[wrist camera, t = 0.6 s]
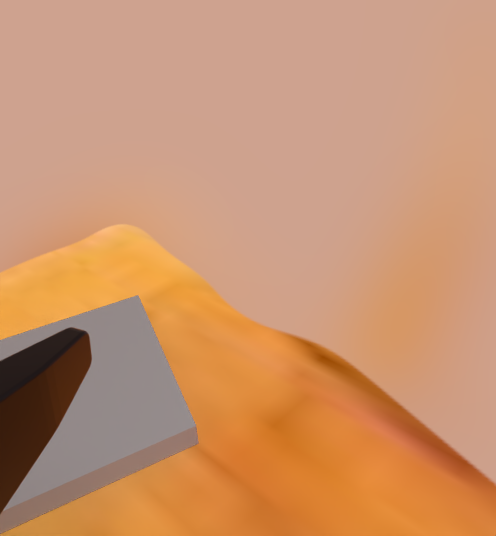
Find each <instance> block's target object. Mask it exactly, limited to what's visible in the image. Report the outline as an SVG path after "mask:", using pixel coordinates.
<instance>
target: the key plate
mask: <svg viewBox="0 0 496 536" xmlns="http://www.w3.org/2000/svg"><path fill="white" fill-rule="evenodd" d="M69 327H73V328H77V329H81V330H84V331H87V332H88V334H89V337H90V345H91V353H92V362H91V365H90V368H89V370H88V372H87V374H86V376H85V378H84V380H83V382H82V383H81V385H80V387H79V389H78V391H77V393H76V395H75V397H74V399H73V401H72V403H71V404H70V406H69V408H68V410H67V412H66V414H65V416H64V418H63V420H62V421H61V423H60V425H59V427H58V429H57V430H56V432H55V433H54V435H53V436H52V438H51V440H50V441H49V443H48V444H47V446H46V447H45V449H44V450H43V452H42V453H41V455H40V456H39V458H38V459H37V461H36V462H35V464H34V465H33V467H32V468H31V470H30V471H29V473H28V474H27V476H26V477H25V479H24V480H23V481H22V483H21V484H20V486H19V487H18V489H17V490H16V492H15V493H14V495H13V496H12V498H11V499H10V501H9V502H8V504H7V505H6V507H5V508H4V510H3V511H2V513H1V514H0V534H1V533H3V532H5V531H7V530H10V529H12V528H14V527H16V526H18V525H21V524H23V523H25V522H27V521H29V520H32V519H34V518H36V517H38V516H40V515H43V514H45V513H47V512H49V511H51V510H53V509H56V508H58V507H60V506H62V505H64V504H67V503H69V502H71V501H73V500H75V499H78V498H80V497H82V496H84V495H86V494H89V493H91V492H93V491H95V490H97V489H99V488H102V487H104V486H106V485H108V484H110V483H113V482H115V481H117V480H119V479H121V478H124V477H126V476H128V475H130V474H132V473H134V472H137V471H139V470H141V469H143V468H145V467H148V466H150V465H152V464H154V463H156V462H159V461H161V460H163V459H165V458H167V457H170V456H172V455H174V454H176V453H178V452H180V451H183V450H185V449H187V448H189V447H191V446H194V445H196V444H198V436H197V429H196V424H195V422H194V420H193V418H192V415H191V413H190V411H189V409H188V406H187V404H186V402H185V400H184V397H183V395H182V393H181V391H180V388H179V386H178V384H177V382H176V379H175V377H174V375H173V373H172V370H171V368H170V366H169V364H168V361H167V359H166V357H165V355H164V352H163V350H162V348H161V346H160V343H159V341H158V339H157V337H156V334H155V332H154V330H153V328H152V325H151V323H150V321H149V319H148V316H147V314H146V312H145V310H144V307H143V305H142V303H141V301H140V298H139V296H138V295H137V296H134V297H131V298H128V299H125V300H122V301H119V302H116V303H113V304H110V305H107V306H104V307H101V308H97V309H94V310H91V311H88V312H85V313H82V314H79V315H76V316H73V317H70V318H67V319H64V320H61V321H58V322H55V323H51V324H48V325H45V326H42V327H39V328H36V329H33V330H30V331H27V332H24V333H21V334H18V335H15V336H12V337H8V338H5V339H2V340H0V361H1V360H3V359H5V358H7V357H9V356H11V355H13V354H15V353H17V352H19V351H21V350H23V349H25V348H27V347H29V346H31V345H33V344H35V343H37V342H39V341H42V340H44V339H46V338H48V337H50V336H52V335H54V334H56V333H58V332H60V331H62V330H64V329H66V328H69Z"/></svg>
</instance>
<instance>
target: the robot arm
mask: <svg viewBox="0 0 496 536" xmlns="http://www.w3.org/2000/svg"><path fill="white" fill-rule="evenodd" d="M91 362H92V353H91V345H90V337H89V334H88V332H87V331H84V330H81V329H77V328H73V327H69V328H66V329H64V330H62V331H60V332H58V333H56V334H54V335H52V336H50V337H48V338H46V339H44V340H42V341H39V342H37V343H35V344H33V345H31V346H29V347H27V348H25V349H23V350H21V351H19V352H17V353H15V354H13V355H11V356H9V357H7V358H5V359H3V360H1V361H0V514H1V513H2V511H3V510H4V508H5V507H6V505H7V504H8V502H9V501H10V499H11V498H12V496H13V495H14V493H15V492H16V490H17V489H18V487H19V486H20V484H21V483H22V481H23V480H24V479H25V477H26V476H27V474H28V473H29V471H30V470H31V468H32V467H33V465H34V464H35V462H36V461H37V459H38V458H39V456H40V455H41V453H42V452H43V450H44V449H45V447H46V446H47V444H48V443H49V441H50V440H51V438H52V436H53V435H54V433H55V432H56V430H57V429H58V427H59V425H60V423H61V421H62V420H63V418H64V416H65V414H66V412H67V410H68V408H69V406H70V404H71V403H72V401H73V399H74V397H75V395H76V393H77V391H78V389H79V387H80V385H81V383H82V382H83V380H84V378H85V376H86V374H87V372H88V370H89V368H90V365H91Z"/></svg>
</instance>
